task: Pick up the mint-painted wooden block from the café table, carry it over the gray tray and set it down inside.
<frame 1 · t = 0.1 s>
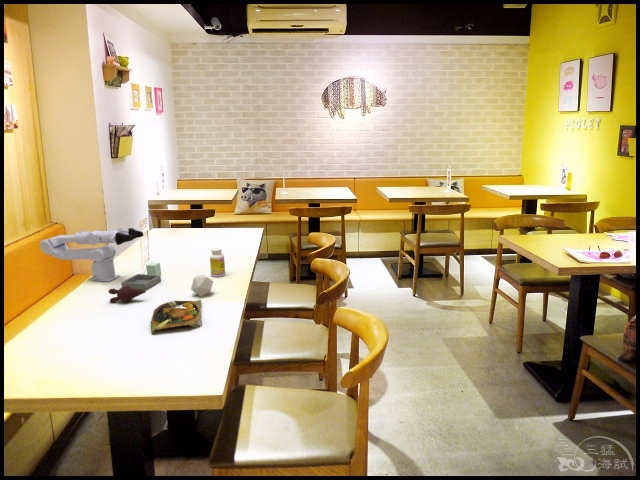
hand: (137, 235, 222), 22 cm above the table, tool horizontal, fingers open, 7 cm apart
mint block: (154, 276, 235), on the table
die: (202, 294, 209), on the table
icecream: (128, 301, 203), on the table
prepared meal: (177, 318, 186), on the table
supplement bottle: (218, 275, 234), on the table
gray tray: (142, 285, 222), on the table
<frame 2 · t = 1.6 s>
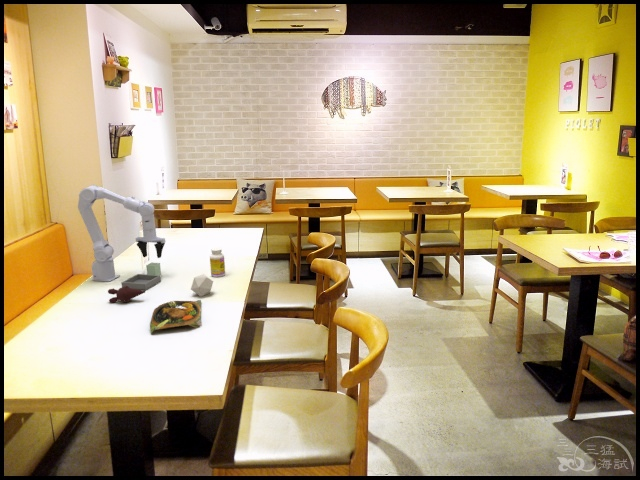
hand: (152, 257, 233), 9 cm above the table, tool pointing down, fingers open, 7 cm apart
nothing on the table moved.
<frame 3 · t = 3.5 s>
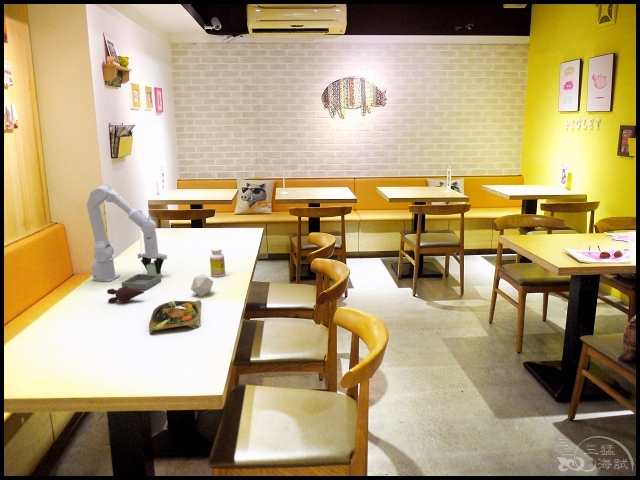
hand: (154, 273, 235), 1 cm above the table, tool pointing down, fingers closed on mint block, 4 cm apart
mint block: (154, 276, 235), on the table, touching gripper
everything else where it was.
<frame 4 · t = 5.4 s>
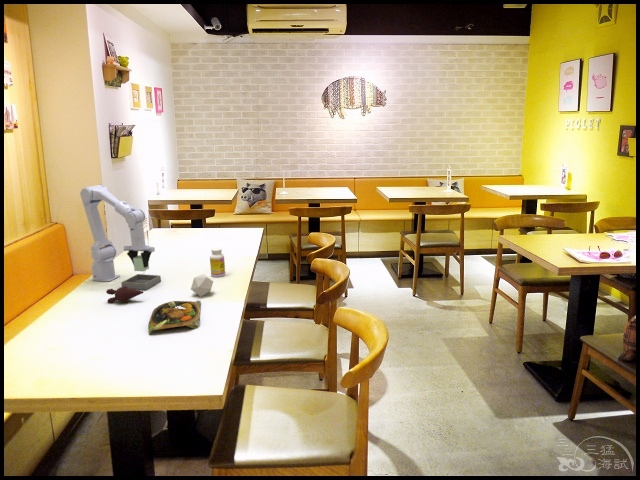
hand: (141, 266, 221), 8 cm above the table, tool pointing down, fingers closed on mint block, 4 cm apart
mint block: (141, 269, 222), point 7 cm above the table, touching gripper
everything else where it was.
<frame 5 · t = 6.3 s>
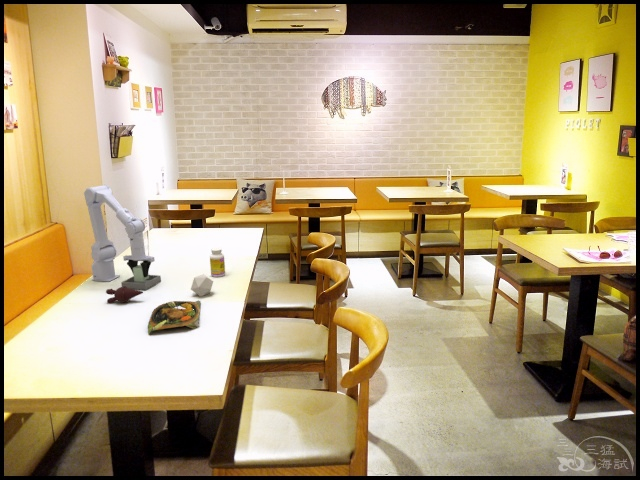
hand: (141, 276, 221), 4 cm above the table, tool pointing down, fingers closed on mint block, 4 cm apart
mint block: (141, 279, 222), point 3 cm above the table, touching gripper
when the fingers open (4 cm above the table, at t = 7.3 s): mint block drops 1 cm, resting on gray tray.
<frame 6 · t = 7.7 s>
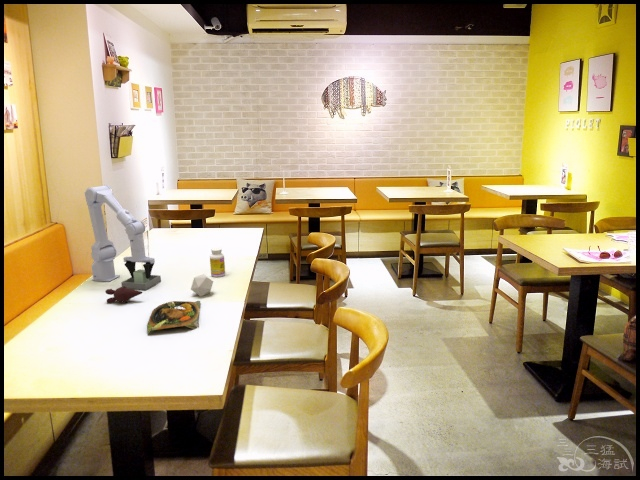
hand: (141, 277, 221), 4 cm above the table, tool pointing down, fingers open, 7 cm apart
mint block: (142, 283, 222), point 1 cm above the table, touching gray tray
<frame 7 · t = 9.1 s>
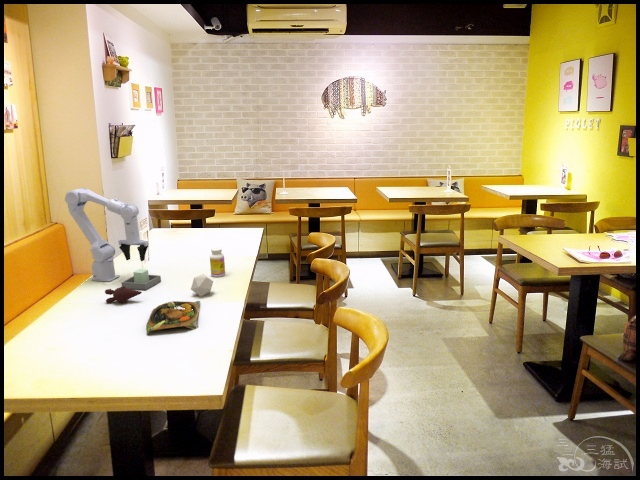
hand: (135, 260, 228), 9 cm above the table, tool pointing down, fingers open, 7 cm apart
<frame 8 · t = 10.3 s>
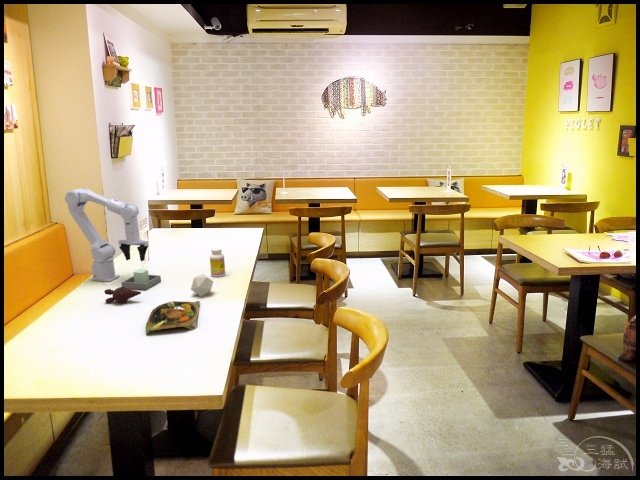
hand: (135, 260, 228), 9 cm above the table, tool pointing down, fingers open, 7 cm apart
at the end: mint block inside the target area on the gray tray (0.2 cm from its centre), point 0.6 cm above the gray tray's base; mint block tilted 0°; the gripper is holding nothing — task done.
